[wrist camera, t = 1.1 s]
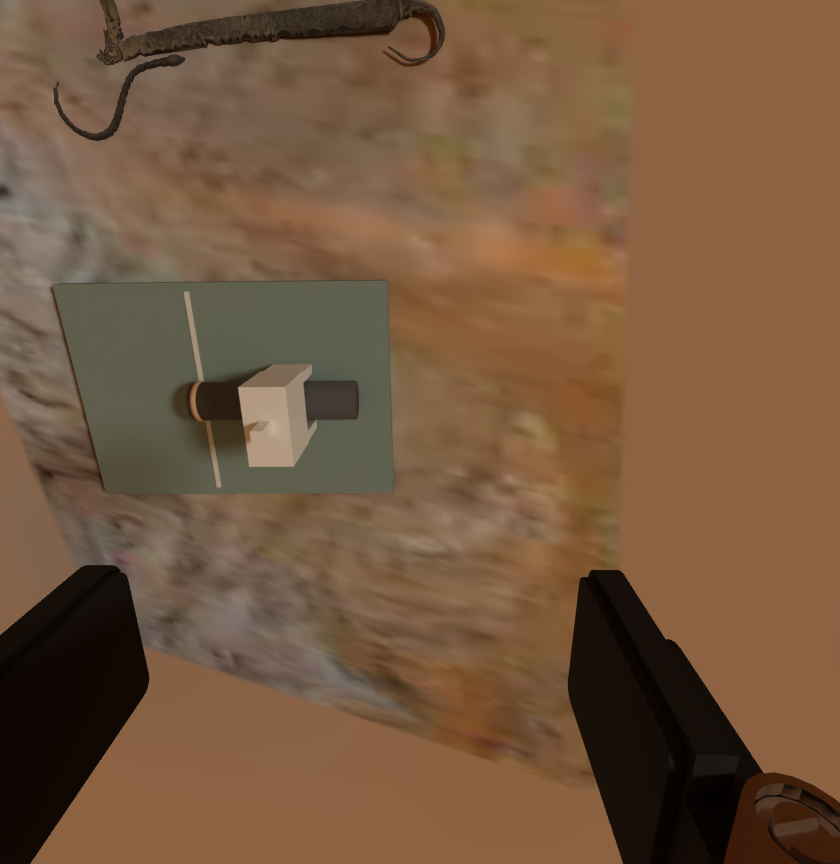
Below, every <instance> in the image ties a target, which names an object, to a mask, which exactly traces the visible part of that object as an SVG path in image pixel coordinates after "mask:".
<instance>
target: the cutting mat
mask: <svg viewBox="0 0 840 864" xmlns="http://www.w3.org/2000/svg"><path fill="white" fill-rule="evenodd" d="M52 286H53V289H54V293H55V297H56V301H57V305H58V309H59V313H60V317H61V321H62V324H63V328H64V332H65V336H66V340H67V344H68V348H69V352H70V356H71V359H72V363H73V367H74V371H75V375H76V379H77V383H78V387H79V390H80V394H81V398H82V402H83V406H84V410H85V414H86V418H87V422H88V425H89V429H90V433H91V437H92V441H93V445H94V449H95V453H96V456H97V460H98V464H99V468H100V472H101V476H102V480H103V484H104V488H105V491H106V494H227V493H393V491H394V474H393V443H392V413H391V382H390V352H389V321H388V290H387V280H331V281H242V282H153V283H65V284H52ZM273 364H312V374H311V375H310V376H309V377H308V378H307V380H306V381H357V384H358V391H359V413H358V418H357V420H316V421H317V429H316V430H315V432H314V433H313V435H312V437H311V438H310V440H309V443H308V445H307V446H306V448H305V449H304V451H303V453H302V454H301V456H300V457H299V459H298V461H297V462H296V464H295V466H294V467H249V461H248V454H247V447H246V440H245V433H244V426H243V420H222V421H195V420H193V419H192V418H191V417H190V415H189V413H188V410H187V404H186V396H187V390H188V388H189V386H190V384H191V383H193V382H197V381H205V382H246V381H248V380H249V379H250V378H252V377H253V376H255V375H256V374H258V373H259V372H260V371H264V370H266V369H267V368H269V367H270V366H271V365H273Z"/></svg>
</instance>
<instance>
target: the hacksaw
mask: <svg viewBox="0 0 840 864" xmlns="http://www.w3.org/2000/svg"><path fill="white" fill-rule="evenodd" d="M100 1H101V4H102V7H103V10H104V13H105V17H106V23H107V29H108V30H106V31H105V30H104V29H103V30H104V34H105V42H106V48H105V50H104V52H103V51H102V50H101V49H99V50H100V53H101V54H103V55H101V54H97V56H96V57H97V58H98V59H99V60H101V58H102V61H104V59H105V61H104V63H105V65H111V64H112V65H114V64H115V63H118V61H120V62H121V60H122V58H123V60H124V61H125V62H126V61H127V60H131V59H134V58H136V57H137V56H139V55H143V56H145V57H147V56H151V55H158V54H164V53H171V52H178V51H185V50H191V49H198V48H203V45H204V47H205V48H206V47H207V46H208V43H214V44H216V45H218V46H220V45H222V44H223V43H225V44H235V43H243V42H244V41H250V40H251V41H252V42H260V41H266V40H273V41H274V42H275V41H278V40H279V39H280V38H281V37H285V38H299V37H305V38H309V37H315V36H327V35H338V34H359V33H371V32H381V31H389V30H391V31H393V30H394V28H395V26H396V25H397V23H398V22H399V21H400V20H401V19H402V18H404V17H405V16H406V15H409V16H412V12H414V11H417V12H421V13H426V14H429V15H430V16H431V17H432V18H433V19H434V21H435V22H436V25H437V28H438V31H439V40H438V44H437V46H436V48H435V49H434V51H433V52H432V53H431V54H429V55H428V56H425V57H422V58H416V59H412V58H407V57H406V56H404V55H402V54H401V53H399V52H398V51H396V50H394V49H393V48H391V47H389V46H388V48H389V49H391V50H392V51H393V52H394V53H396V54H397V55H399V56H400V57H402V58H403V59H405V60H407V61H411V62H423V61H425V60H428V59H430V58H432V57H434V56H435V55H436V54H437V52H438V51H439V49H440V48H441V46H442V44H443V42H444V39H445V29H444V25H443V22H442V18H441V16H440V14H439V12H438V10H437V9H436V8H435V7H434V6H433V5H431V4H429V3H427V2H426V1H423V0H364V1H357V2H347V3H339V4H331V5H325V6H313V7H307V8H298V9H291V10H285V11H277V12H267V13H259V14H250V15H245V16H236V17H226V18H220V19H214V20H208V21H202V22H194V23H188V24H185V25H179V26H175V27H171V28H167V29H163V30H161V31H155V32H147V33H146V34H144V35H143V36H141V35H138V37H137V36H131V37H129V38H127V39H126V40H124V41H122V39H123V38H124V35H123V33H122V32H121V31H122V29H121V28H120V23H121V22H120V18H119V14H118V11H117V7H116V4H115V2H114V0H100ZM184 61H185V58H184V57H181V56H178V55H170V56H168V57H165V58H161V59H156V60H152V61H150V62H145V63H144V64H141V65H137V66H136V68H134V69H133V70H131V71H130V73H129V75H128V76H127V77H126V80H125V83H124V84H123V90H122V91H121V94H120V98H119V100H118V106H117V108H116V112H115V117H114V119H113V120H112V122H111V125H110V126H109V128H107V129H105V130H104V132H100V133H98V134H92V133H88V132H86V131H82V130H80V129H79V128H77V127H75V126H74V125H73V124H72V123H71V122H70V121H69V119H68V118H67V117H66V115H65V114H64V113H63V111H62V109H61V106H60V103H59V101H58V91H57V87H58V85H59V83H58V81H57V86H56V87H55V88H54V89H53V91H54V103H55V105H56V107H57V109H58V111H59V115H60V116H61V117H62V119H63V120H64V121H65V123H66V124H67V125H68V126H69V127H70V128H71V129H72V130H73V131H74V132H76V133H78V134H79V135H81V136H83V137H86V138H87V139H90V140H95V141H99V140H103V139H107V138H108V137H110V136H113V134H114V132H116V131H117V130H118V127H119V124H120V121H121V118H122V114H123V111H124V105H125V103H126V97H127V95H128V90H129V88H130V85H131V82H133V79H134V76H136V75H137V74H139V73H140V72H143V71H145V70H146V69H151V68H155V67H159V66H163V67H165V66H178V65H180V64H181V63H182V62H184Z"/></svg>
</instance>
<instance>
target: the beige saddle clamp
mask: <svg viewBox="0 0 840 864" xmlns="http://www.w3.org/2000/svg"><path fill="white" fill-rule="evenodd" d="M311 374H312V364H273V365H271V366H270V367H269V368H267V369H266V370H264V371H260V372H259V373H258V374H256V375H255V376H253V377H252V378H250V379H249V380H248V381H246V382H245V383H243V384H242V385H241V386H239V387H238V391H239V398H240V405H241V412H242V419H243V426H244V433H245V440H246V447H247V454H248V461H249V467H294V466H295V464H296V462H297V461H298V459H299V457H300V456H301V454H302V453H303V451H304V449H305V448H306V446H307V445H308V443H309V440H310V438H311V437H312V435H313V433H314V432H315V430H316V429H317V421H316V420H307V417H306V406H305V396H304V385H303V383H304V382H305V381H306V380H307V378H308V377H309V376H310V375H311Z"/></svg>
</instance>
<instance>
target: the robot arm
mask: <svg viewBox="0 0 840 864" xmlns="http://www.w3.org/2000/svg"><path fill="white" fill-rule="evenodd" d="M148 684H149V673H148V668H147V663H146V659H145V655H144V650H143V645H142V641H141V636H140V631H139V627H138V622H137V618H136V613H135V609H134V604H133V600H132V595H131V590H130V586H129V581H128V578H127V576H126V574H124V573H121V571H120V569H119V568H118V567H117V566H114V565H86V566H83V567H81V568H79V569H78V570H77V571H76V572H75V573H73V574H72V575H71V576H70V577H69V578H67V579H66V580H65V581H64V582H63V583H62V584H60V585H59V586H58V587H57V588H56V589H54V590H53V591H52V592H51V593H50V594H49V595H47V596H46V597H45V598H44V599H43V600H41V601H40V602H39V603H38V604H37V605H35V606H34V607H33V608H32V609H31V610H29V611H28V612H27V613H26V614H25V615H24V616H22V617H21V618H20V619H19V620H18V621H17V622H15V623H14V624H13V625H12V626H10V627H9V628H8V629H7V630H6V631H5V632H3V633H2V634H1V635H0V864H30V863H31V862H32V860H33V859H34V857H35V856H36V854H37V853H38V852H39V850H40V849H41V847H42V846H43V844H44V843H45V841H46V840H47V838H48V837H49V835H50V834H51V832H52V831H53V829H54V828H55V826H56V825H57V823H58V822H59V821H60V819H61V818H62V816H63V815H64V813H65V812H66V810H67V809H68V807H69V806H70V804H71V803H72V801H73V800H74V798H75V797H76V795H77V794H78V792H79V791H80V790H81V788H82V787H83V785H84V784H85V782H86V780H87V779H88V777H89V776H90V775H91V773H92V772H93V770H94V769H95V767H96V766H97V764H98V763H99V761H100V760H101V759H102V757H103V756H104V754H105V753H106V751H107V750H108V748H109V746H110V745H111V744H112V742H113V741H114V739H115V738H116V736H117V735H118V733H119V732H120V730H121V729H122V727H123V726H124V725H125V723H126V721H127V720H128V719H129V717H130V716H131V714H132V713H133V711H134V710H135V708H136V707H137V705H138V704H139V702H140V701H141V699H142V698H143V696H144V694H145V693H146V690H147V688H148ZM568 693H569V699H570V702H571V705H572V709H573V712H574V715H575V718H576V721H577V724H578V727H579V730H580V733H581V736H582V739H583V742H584V745H585V748H586V751H587V754H588V758H589V761H590V764H591V767H592V770H593V773H594V776H595V779H596V782H597V785H598V788H599V791H600V794H601V797H602V800H603V803H604V806H605V810H606V813H607V816H608V819H609V822H610V824H611V828H612V831H613V834H614V837H615V840H616V843H617V846H618V849H619V852H620V855H621V858H622V862H623V864H840V803H839V802H838V801H837V800H836V799H834V798H833V797H832V796H830V795H828V794H827V793H825V792H824V791H822V790H820V789H819V788H817V787H816V786H814V785H812V784H810V783H807V782H805V781H803V780H800V779H798V778H796V777H793V776H789V775H784V774H780V773H775V772H773V773H763V771H762V770H761V769H760V767H759V765H758V764H757V762H756V761H755V759H754V758H753V757H752V755H751V753H750V752H749V750H748V749H747V747H746V746H745V744H744V743H743V742H742V740H741V738H740V737H739V735H738V734H737V732H736V731H735V729H734V728H733V726H732V725H731V724H730V722H729V720H728V719H727V718H726V716H725V715H724V713H723V712H722V710H721V709H720V707H719V705H718V704H717V702H716V701H715V700H714V698H713V697H712V695H711V693H710V692H709V691H708V689H707V688H706V686H705V684H704V683H703V681H702V680H701V678H700V677H699V675H698V674H697V672H696V671H695V670H694V668H693V667H692V665H691V663H690V662H689V661H688V659H687V657H686V656H685V654H684V653H683V652H682V650H681V648H679V646H678V645H677V644H676V643H675V642H674V641H672V640H669V639H665V638H664V636H663V635H662V633H661V632H660V630H659V628H658V627H657V625H656V624H655V623H654V621H653V619H652V618H651V616H650V615H649V613H648V611H647V610H646V608H645V607H644V605H643V604H642V602H641V601H640V599H639V597H638V596H637V594H636V593H635V591H634V590H633V588H632V586H631V585H630V583H629V582H628V580H627V579H626V577H625V576H624V574H623V573H622V572H621V571H619V570H591V571H590V573H589V575H588V577H582V578H581V579H580V583H579V590H578V599H577V607H576V616H575V625H574V633H573V642H572V651H571V659H570V668H569V676H568Z"/></svg>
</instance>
